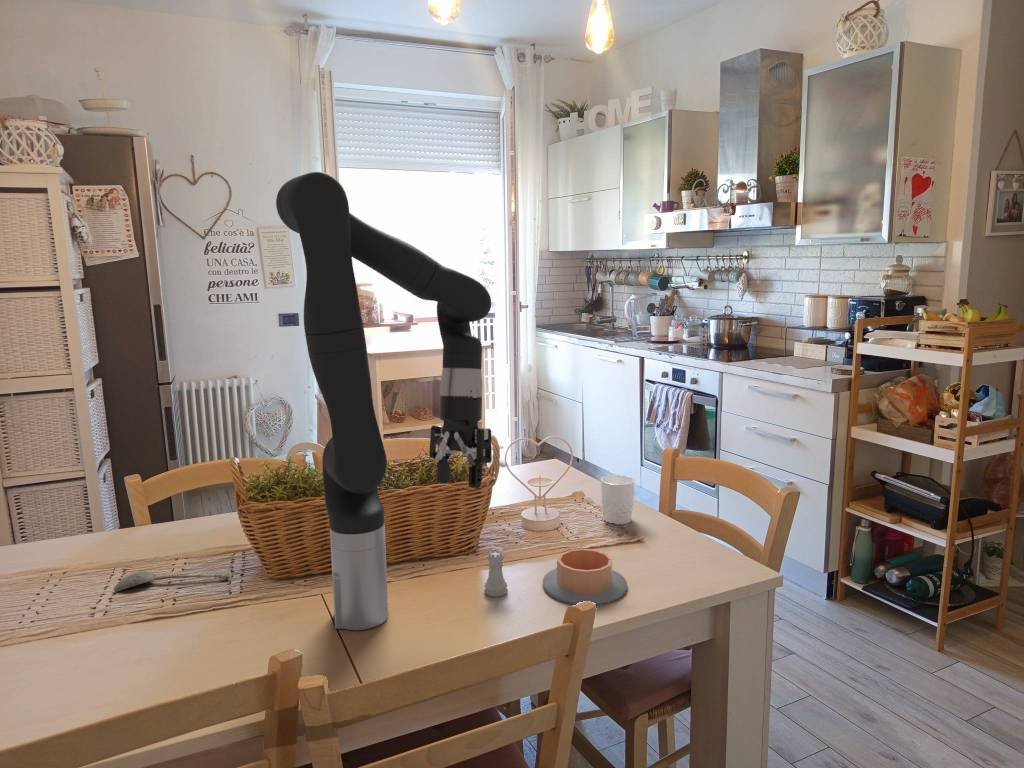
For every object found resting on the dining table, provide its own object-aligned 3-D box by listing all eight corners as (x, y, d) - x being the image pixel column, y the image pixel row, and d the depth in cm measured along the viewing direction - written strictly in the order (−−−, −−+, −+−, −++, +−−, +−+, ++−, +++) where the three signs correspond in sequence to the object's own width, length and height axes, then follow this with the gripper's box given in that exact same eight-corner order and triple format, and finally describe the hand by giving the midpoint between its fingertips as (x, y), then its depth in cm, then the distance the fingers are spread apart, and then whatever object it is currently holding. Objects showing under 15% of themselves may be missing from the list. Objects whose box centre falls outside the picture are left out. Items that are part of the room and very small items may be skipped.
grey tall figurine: (499, 600, 134) (498, 559, 132) (479, 594, 136) (478, 554, 134) (512, 590, 137) (511, 550, 136) (492, 585, 140) (492, 546, 138)
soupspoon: (122, 583, 144) (107, 600, 138) (119, 568, 144) (104, 584, 137) (235, 574, 146) (226, 589, 140) (233, 558, 146) (224, 573, 139)
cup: (558, 610, 129) (558, 582, 128) (532, 573, 145) (532, 548, 144) (640, 599, 133) (641, 571, 132) (607, 564, 149) (607, 539, 148)
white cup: (633, 526, 169) (634, 485, 167) (599, 524, 171) (599, 483, 169) (634, 515, 177) (635, 475, 175) (601, 513, 178) (602, 473, 176)
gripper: (420, 393, 132) (417, 482, 132) (472, 394, 122) (469, 490, 122) (451, 394, 137) (449, 480, 137) (503, 395, 127) (501, 488, 127)
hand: (458, 485), depth 129 cm, fingers open, 8 cm apart
